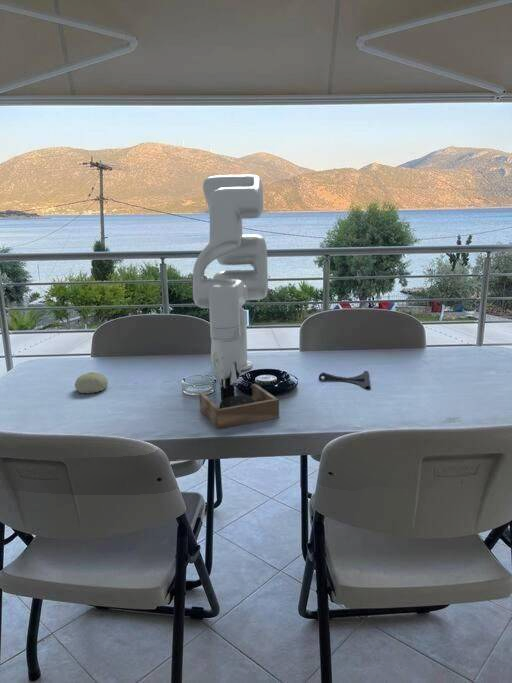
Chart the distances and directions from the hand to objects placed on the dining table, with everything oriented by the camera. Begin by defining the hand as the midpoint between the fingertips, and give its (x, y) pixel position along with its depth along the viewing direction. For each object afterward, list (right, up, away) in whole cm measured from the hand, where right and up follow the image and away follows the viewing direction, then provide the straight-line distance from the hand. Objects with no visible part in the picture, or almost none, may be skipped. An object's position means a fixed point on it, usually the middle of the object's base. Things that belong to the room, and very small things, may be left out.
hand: (227, 400), depth 126 cm
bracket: (+34, +3, +18) cm, 38 cm away
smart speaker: (+3, -3, -8) cm, 9 cm away
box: (+3, -2, -6) cm, 7 cm away
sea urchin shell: (-40, +1, +14) cm, 43 cm away
